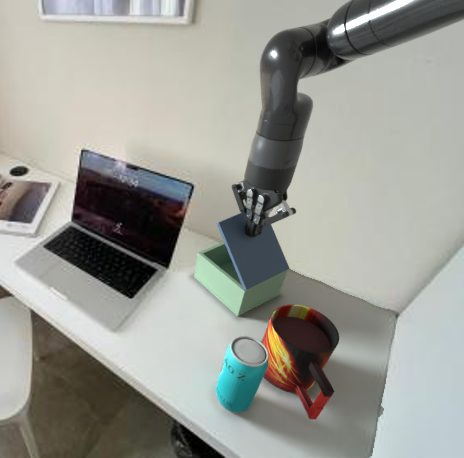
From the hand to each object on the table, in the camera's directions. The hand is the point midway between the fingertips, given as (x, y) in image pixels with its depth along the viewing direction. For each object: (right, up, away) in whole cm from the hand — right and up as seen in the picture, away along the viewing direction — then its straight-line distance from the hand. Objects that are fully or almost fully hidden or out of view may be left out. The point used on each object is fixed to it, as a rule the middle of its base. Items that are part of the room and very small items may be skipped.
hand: (251, 234), depth 72 cm
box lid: (+1, -2, +1) cm, 3 cm away
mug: (+4, -26, -7) cm, 27 cm away
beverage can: (-8, -29, -9) cm, 32 cm away
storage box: (+1, -12, +10) cm, 16 cm away
